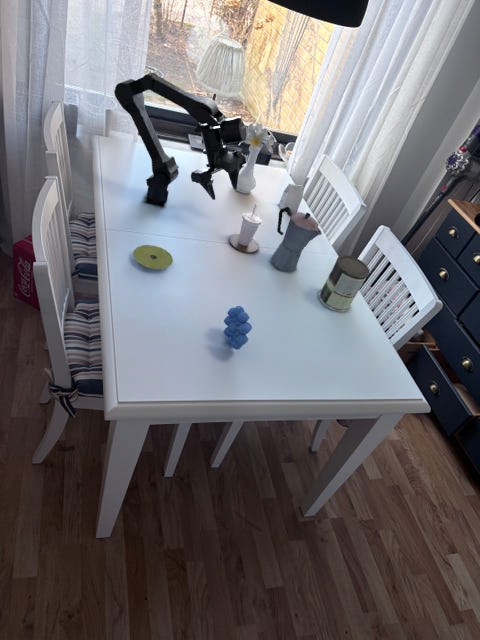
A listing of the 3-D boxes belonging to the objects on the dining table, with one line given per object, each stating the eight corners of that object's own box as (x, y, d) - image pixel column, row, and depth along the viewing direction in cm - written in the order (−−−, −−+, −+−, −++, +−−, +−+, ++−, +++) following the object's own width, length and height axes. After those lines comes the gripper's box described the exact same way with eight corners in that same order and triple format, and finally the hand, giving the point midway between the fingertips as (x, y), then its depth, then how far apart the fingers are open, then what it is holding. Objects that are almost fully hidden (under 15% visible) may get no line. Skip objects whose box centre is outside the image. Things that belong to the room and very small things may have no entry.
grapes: (252, 360, 120) (267, 327, 112) (227, 361, 117) (241, 327, 109) (238, 327, 127) (252, 294, 120) (215, 327, 125) (227, 293, 117)
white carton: (296, 211, 188) (306, 188, 182) (281, 209, 185) (290, 186, 179) (293, 206, 190) (302, 183, 184) (278, 204, 188) (287, 181, 181)
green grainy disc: (140, 245, 142) (141, 240, 140) (176, 258, 142) (177, 253, 141) (126, 265, 133) (127, 259, 132) (164, 279, 133) (165, 273, 132)
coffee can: (312, 295, 148) (330, 259, 139) (330, 286, 155) (349, 251, 146) (337, 316, 144) (357, 280, 135) (355, 306, 151) (376, 271, 142)
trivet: (224, 243, 155) (224, 242, 155) (236, 231, 163) (236, 230, 163) (251, 257, 154) (252, 255, 154) (262, 244, 162) (262, 243, 162)
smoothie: (247, 236, 162) (260, 200, 153) (256, 248, 158) (270, 211, 149) (231, 237, 159) (243, 200, 150) (239, 248, 155) (252, 211, 146)
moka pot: (295, 281, 152) (320, 228, 139) (255, 256, 155) (276, 203, 142) (307, 270, 159) (332, 218, 146) (269, 247, 162) (290, 194, 149)
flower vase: (253, 180, 197) (273, 121, 181) (260, 203, 184) (282, 141, 168) (222, 174, 193) (240, 112, 177) (228, 197, 180) (247, 132, 164)
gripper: (206, 156, 136) (218, 208, 144) (253, 136, 145) (262, 186, 153) (183, 154, 143) (196, 204, 152) (229, 135, 152) (239, 183, 161)
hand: (224, 194), depth 154 cm, fingers open, 9 cm apart
